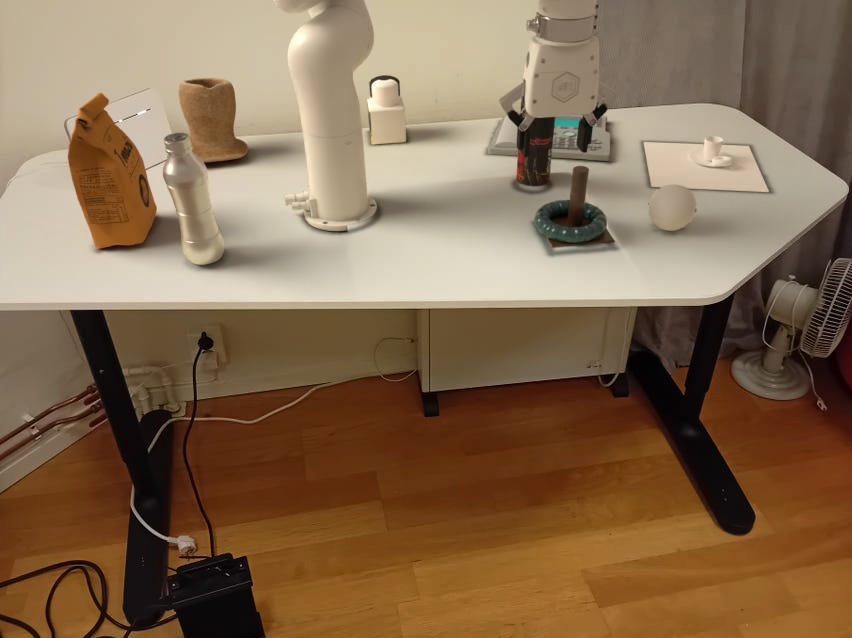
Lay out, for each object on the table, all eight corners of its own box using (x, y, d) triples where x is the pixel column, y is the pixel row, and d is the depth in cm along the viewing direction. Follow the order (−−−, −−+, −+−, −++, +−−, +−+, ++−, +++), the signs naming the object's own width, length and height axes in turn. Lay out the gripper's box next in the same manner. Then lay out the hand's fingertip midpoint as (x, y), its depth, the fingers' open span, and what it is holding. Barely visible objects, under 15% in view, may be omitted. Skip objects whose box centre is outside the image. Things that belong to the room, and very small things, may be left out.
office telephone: (487, 142, 142) (502, 105, 157) (487, 155, 144) (501, 116, 159) (610, 148, 138) (613, 109, 153) (608, 161, 139) (611, 121, 154)
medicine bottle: (369, 131, 155) (365, 73, 147) (402, 129, 155) (400, 71, 147) (371, 145, 149) (367, 85, 141) (406, 142, 149) (403, 83, 142)
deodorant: (547, 193, 130) (555, 109, 121) (514, 191, 131) (519, 108, 122) (549, 178, 135) (557, 97, 125) (517, 176, 136) (522, 95, 126)
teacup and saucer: (736, 171, 134) (741, 150, 132) (691, 169, 136) (695, 148, 133) (728, 152, 141) (733, 131, 139) (685, 150, 142) (690, 130, 140)
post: (551, 254, 114) (557, 186, 107) (535, 223, 122) (540, 158, 115) (613, 248, 115) (624, 180, 108) (593, 218, 123) (602, 152, 115)
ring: (544, 248, 113) (545, 234, 111) (526, 213, 122) (527, 200, 120) (616, 241, 114) (618, 228, 112) (592, 207, 122) (594, 194, 121)
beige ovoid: (697, 238, 116) (707, 196, 112) (649, 239, 117) (658, 197, 112) (681, 209, 124) (690, 168, 120) (637, 209, 125) (644, 169, 120)
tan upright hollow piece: (249, 141, 152) (236, 67, 143) (248, 165, 143) (234, 88, 134) (175, 148, 151) (156, 74, 141) (169, 172, 142) (149, 95, 132)
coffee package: (168, 214, 128) (134, 88, 114) (146, 251, 119) (106, 118, 105) (113, 215, 129) (71, 89, 115) (86, 251, 119) (38, 119, 105)
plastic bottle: (189, 273, 113) (156, 150, 100) (182, 253, 118) (149, 133, 105) (231, 263, 115) (203, 141, 102) (222, 244, 120) (194, 125, 107)
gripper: (507, 39, 94) (500, 166, 105) (637, 31, 96) (617, 157, 107) (495, 23, 100) (490, 145, 111) (618, 15, 101) (601, 137, 112)
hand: (552, 150), depth 109 cm, fingers open, 8 cm apart
